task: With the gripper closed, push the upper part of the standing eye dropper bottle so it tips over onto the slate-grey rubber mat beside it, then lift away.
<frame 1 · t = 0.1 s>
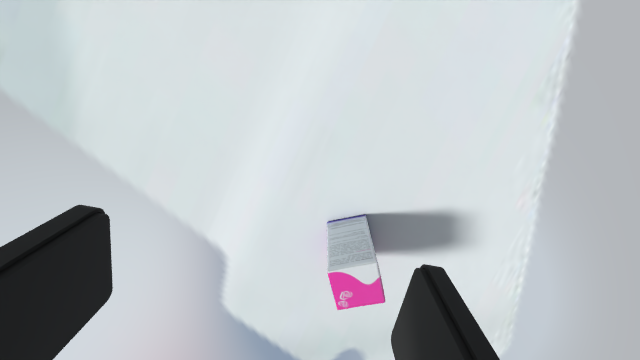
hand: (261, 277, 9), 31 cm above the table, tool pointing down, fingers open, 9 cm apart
supplement box: (349, 234, 44), on the table
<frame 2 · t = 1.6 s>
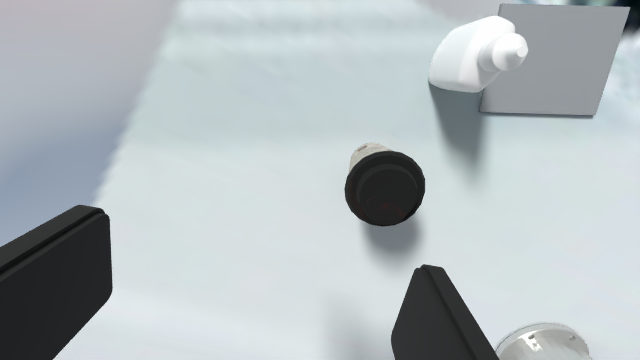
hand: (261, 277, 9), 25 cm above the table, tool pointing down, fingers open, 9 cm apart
eye dropper bottle: (448, 59, 31), on the table
coffee cup: (370, 162, 34), on the table
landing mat: (548, 62, 30), on the table
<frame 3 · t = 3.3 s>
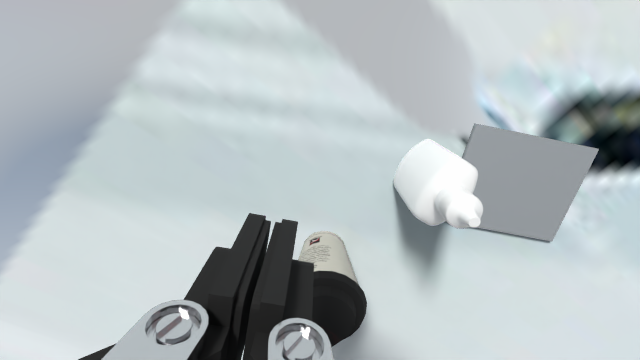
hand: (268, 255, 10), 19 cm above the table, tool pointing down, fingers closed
eye dropper bottle: (416, 165, 30), on the table
coffee cup: (323, 248, 33), on the table
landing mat: (514, 185, 30), on the table
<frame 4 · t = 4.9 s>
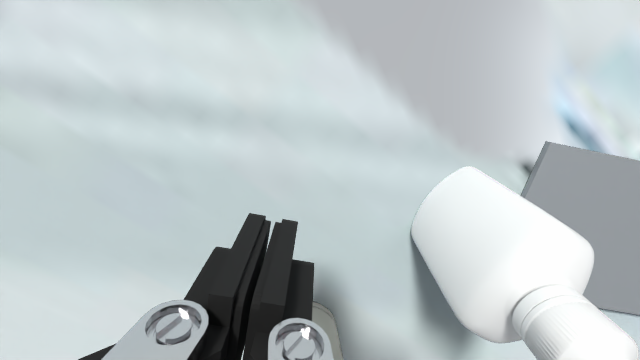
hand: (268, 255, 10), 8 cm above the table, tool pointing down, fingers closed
eye dropper bottle: (447, 205, 19), on the table
coffee cup: (304, 323, 22), on the table
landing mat: (599, 235, 19), on the table
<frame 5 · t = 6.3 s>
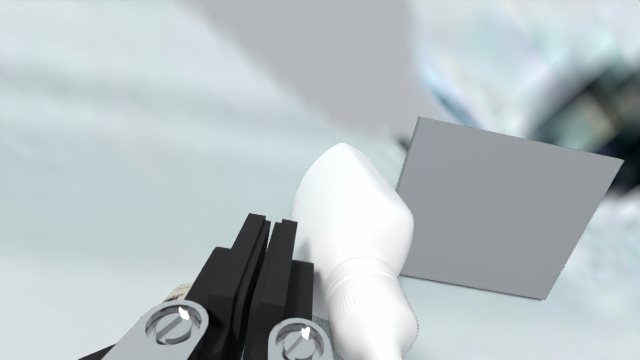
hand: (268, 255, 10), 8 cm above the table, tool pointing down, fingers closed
eye dropper bottle: (328, 185, 18), on the table
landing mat: (486, 215, 19), on the table
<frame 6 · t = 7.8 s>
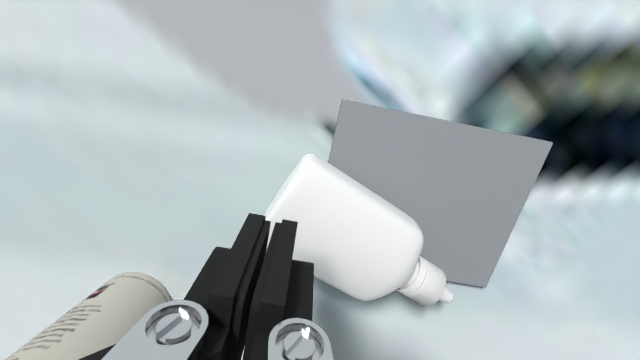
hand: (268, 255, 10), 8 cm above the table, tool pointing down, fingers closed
eye dropper bottle: (275, 192, 16), point 2 cm above the table, touching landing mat
coffee cup: (139, 297, 21), on the table
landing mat: (419, 201, 19), on the table
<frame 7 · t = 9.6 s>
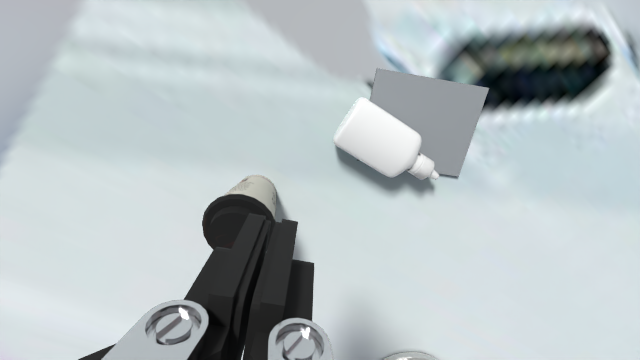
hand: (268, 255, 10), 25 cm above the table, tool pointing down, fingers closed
eye dropper bottle: (344, 117, 31), point 2 cm above the table, touching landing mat
coffee cup: (257, 192, 37), on the table
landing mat: (419, 125, 34), on the table
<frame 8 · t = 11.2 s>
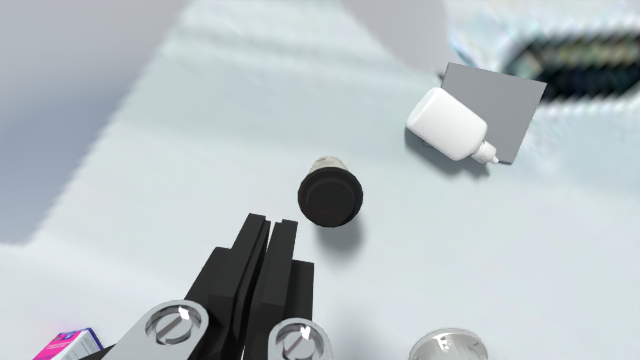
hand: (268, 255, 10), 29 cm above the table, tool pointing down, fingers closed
eye dropper bottle: (418, 105, 35), point 2 cm above the table, touching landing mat
supplement box: (83, 341, 51), on the table
coffee cup: (328, 172, 40), on the table
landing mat: (481, 115, 37), on the table
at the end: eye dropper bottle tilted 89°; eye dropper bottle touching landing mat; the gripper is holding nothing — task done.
